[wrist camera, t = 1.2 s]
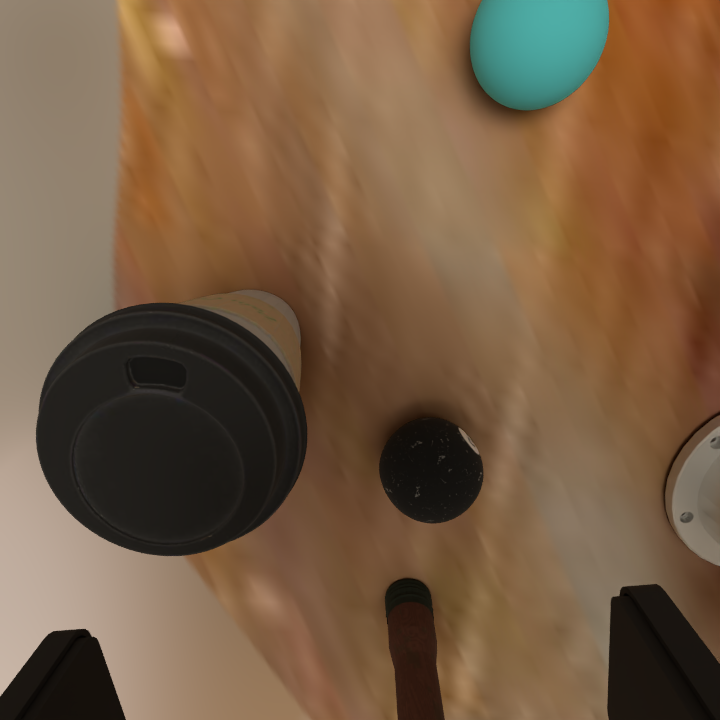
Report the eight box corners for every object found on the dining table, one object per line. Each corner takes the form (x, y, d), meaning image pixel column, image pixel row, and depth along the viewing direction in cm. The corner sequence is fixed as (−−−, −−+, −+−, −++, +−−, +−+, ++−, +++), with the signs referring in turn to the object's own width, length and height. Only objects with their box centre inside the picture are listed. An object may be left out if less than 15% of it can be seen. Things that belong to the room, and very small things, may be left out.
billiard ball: (360, 441, 33) (359, 491, 27) (432, 385, 32) (447, 426, 26) (417, 501, 34) (428, 562, 28) (489, 450, 33) (515, 502, 27)
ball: (600, 45, 26) (667, 0, 20) (518, 143, 27) (559, 128, 21) (516, -42, 25) (561, -116, 19) (435, 66, 26) (455, 28, 20)
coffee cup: (293, 235, 29) (223, 269, 14) (353, 379, 31) (343, 528, 17) (148, 293, 30) (-50, 378, 16) (218, 428, 32) (103, 606, 18)
